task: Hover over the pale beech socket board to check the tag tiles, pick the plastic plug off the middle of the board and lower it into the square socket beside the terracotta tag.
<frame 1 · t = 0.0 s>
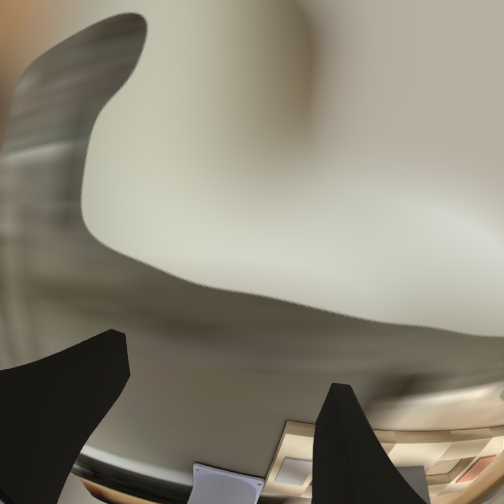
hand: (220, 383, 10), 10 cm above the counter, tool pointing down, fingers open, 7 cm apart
socket board: (396, 465, 23), on the counter
plug: (398, 476, 22), point 1 cm above the counter, touching socket board
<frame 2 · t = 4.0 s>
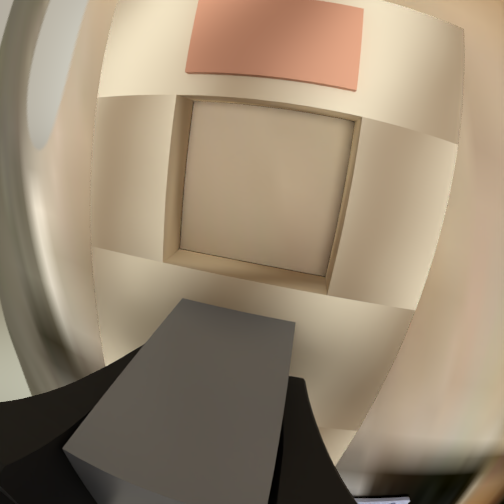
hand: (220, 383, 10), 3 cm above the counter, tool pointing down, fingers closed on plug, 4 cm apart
socket board: (240, 334, 13), on the counter
plug: (231, 355, 11), point 1 cm above the counter, touching gripper, socket board
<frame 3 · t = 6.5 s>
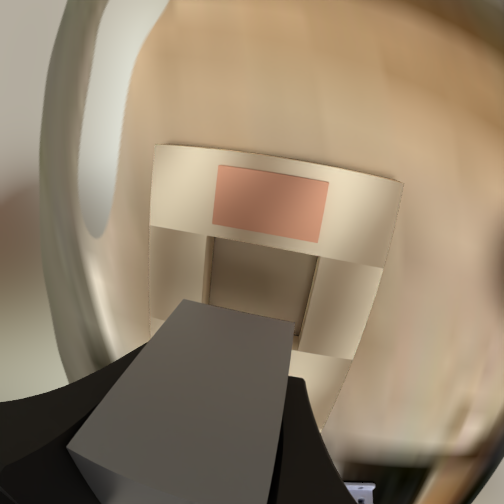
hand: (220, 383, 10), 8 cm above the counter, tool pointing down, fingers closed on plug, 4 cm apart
socket board: (246, 366, 19), on the counter
plug: (232, 355, 11), point 6 cm above the counter, touching gripper
when the fingers open (2 cm above the counter, at t = 8.8 s): plug stays where it is, resting in socket board.
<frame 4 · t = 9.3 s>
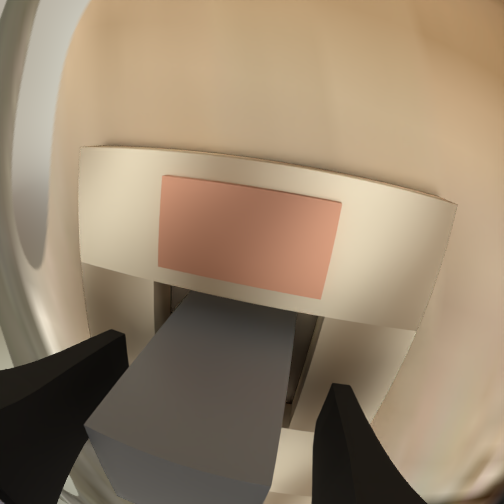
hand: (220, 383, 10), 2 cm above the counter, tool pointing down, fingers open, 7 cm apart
socket board: (224, 431, 14), on the counter
plug: (237, 344, 12), resting in socket board
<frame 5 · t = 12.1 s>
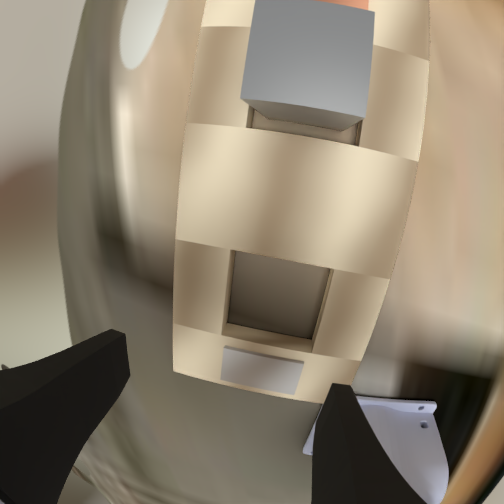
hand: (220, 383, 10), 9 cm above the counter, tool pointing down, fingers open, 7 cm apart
socket board: (294, 195, 17), on the counter
plug: (310, 89, 15), resting in socket board
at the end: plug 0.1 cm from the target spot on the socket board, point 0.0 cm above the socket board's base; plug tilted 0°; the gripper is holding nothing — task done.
